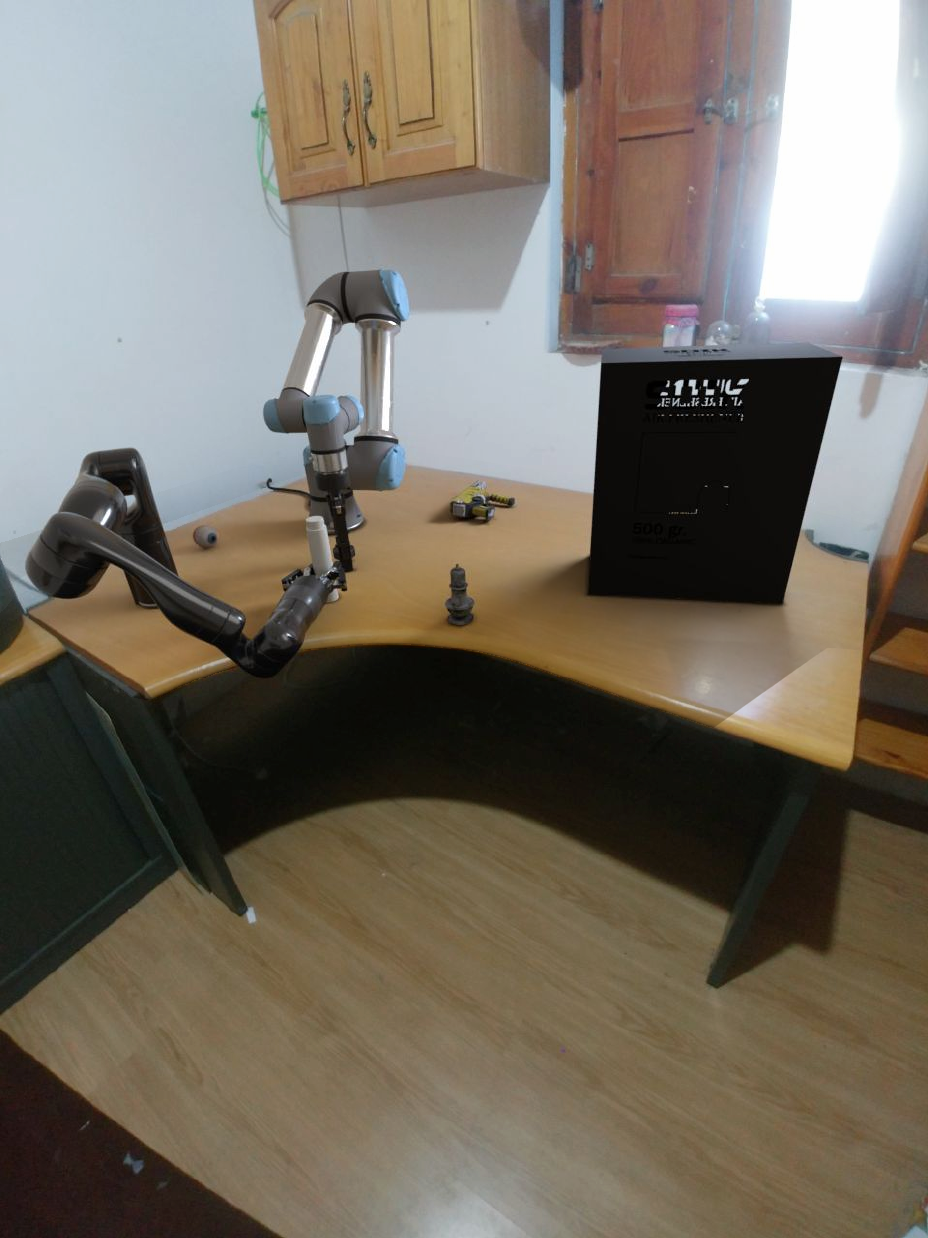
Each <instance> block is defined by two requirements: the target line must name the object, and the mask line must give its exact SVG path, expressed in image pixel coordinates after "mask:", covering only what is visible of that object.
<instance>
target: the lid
mask: <svg viewBox="0 0 928 1238" xmlns="http://www.w3.org/2000/svg"><path fill="white" fill-rule="evenodd" d="M350 551H351V558H352V559H353V558H355V556H356V549H355V546H354V545H353V544H350ZM332 555H333V558H334V560H335V561H339V560H340V557H339V551H338V547H336V548H335V546H334V547H333V548H332Z"/></svg>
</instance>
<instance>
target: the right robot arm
mask: <svg viewBox="0 0 928 1238" xmlns="http://www.w3.org/2000/svg"><path fill="white" fill-rule="evenodd" d="M409 302H410V301H409V296H408V293H407V287H406V284H405V282H404V280H403V277H402V275H401V274H400V273H399V272H398V271H396V269H382V268H379V269H371V270H356V271H355V270H354V271H341V272H337V273H334V274H332V275H331V276H329V277H327V278H326V279H325V280H324V281H322V282H321V284H319V285H318V286H317V288H316V289H315V290H314V292H313V293H312V295H311V296H310V298H309V300H308V301H307V303H306V306H305V310H304V313H303V318H304V322H305V323H304V325H303V328H302V330H301V334H300V337H299V340H298V342H297V346H296V348H295V352H294V354H293V356H292V357H293V358H292V360H291V363H290V366H289V368H288V372H287V374H286V377H285V380H284V383H283V386H282V389H281V392H280V394H279V397H278V398H276V397H275V398H271V399H268V400H267V401H265V403H264V405H263V408H262V416H263V417H262V418H263V420H264V424H265V426H266V427H267V428H268V430H269V431H271V432H272V433H277V434H288V435H289V434H307V439H308V443H309V444H308V445H307V446H305V447H304V448H303V450H302V457H303V458H302V460H303V467H304V471H305V477H306V481H307V486H308V492H307V491H304V490H300V489H294V488H285V487H277V486H276V487H275V486H271V485H270V483H272V482H273V479H272V478H271V477H269V478H268V479H266V484H265V485H266V488H267V489H269V490H271V491H280V492H289V493H297V494H302V495H304V496H307V497H309V500H308V506H309V513H308V518H309V517H312V516H322V517H323V520H324V524H325V525H326V528H327V534H328V536H331V535H335V543H336V544H334V547H335V548H336V547H338V551H339V557H340V560H338V561H339V562H340V563H341V565H342V569H344V570H345V572H352V571H354V564H353V558H351V551H350V545H351V542H350V539H349V534H350V532H353V531H355V530H357V529H359V528H361V527H362V526H363V525H364V523H365V519H364V514H363V512H362V510H361V508H360V505H359V504H358V501H357V500H356V498H355V495H354V491H377V492H384V491H394V490H396V489H398V488H399V487H400V485H401V484H402V481H403V480H404V476H405V473H406V466H407V458H406V450H405V448H404V446H402V445H401V444H399V438H398V437H397V435H396V434H395V433H394V397H395V395H394V393H395V391H394V390H395V389H394V387H395V341H396V340H395V337H397V335H398V334H399V333H400V332H401V330H402V329H401V327H402V323H403V322H404V323H405V322H406V321H407V320H409V315H410V304H409ZM347 324H354V328H355V329H356V330H357V332H359V334H360V368H359V369H360V374H359V383H360V384H359V389H360V390H359V392H360V393H359V400H358V398H356V397H354V396H352V395H340V396H335V395H332V394H319V395H318V394H317V392H318V389H319V386H320V383H321V380H322V378H323V374H324V371H325V367H326V365H327V361H328V358H329V356H330V352H331V349H332V346H333V342H334V340H335V336H337V335H338V334H340V333H341V331H342V328H343V326H345V325H347ZM358 427H359V430H358V432H357V433H356V434H355V435H354V436H353V444H347V441H346V439H345V436H344V435H346V434H348V433H350V432H352V431H354V430H356V429H357V428H358Z"/></svg>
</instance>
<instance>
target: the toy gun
mask: <svg viewBox="0 0 928 1238" xmlns="http://www.w3.org/2000/svg"><path fill="white" fill-rule="evenodd" d="M486 487H487V482H486V481H485V480H483V481H482V482H481V480H477V481H476V482H474V483H473V484H472V485H469V486H468V487H467V488H466V489H465V490H463V491H462V492H461V493H460V494H459V495H457V496H456V497H455V498H454V499H453V500H451V502H450V503H449V504H450V505H449V513H450V515H451V516H454V518H458V519H459V518H460V519H461V518H471V517H474V516H477V517H481V518H485V521H487V522H488V521H490V520H491V519H493V518H494V517H495V511H496V509H495V508H496V507H495V506H494V505H492V504H491V505H490V506H489V505H488V504H487V503H489V502H490V501H491V502H492V503H499V504H502V505H507V506H508V507H513V506H514V505H515V503H516V499H515V498H514V497H511V496H509V497H508V496H506V495H505V496H504V495H501V494H497V493H491V495H490V494H489V492H488V491H487V489H485V488H486Z"/></svg>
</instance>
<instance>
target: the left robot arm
mask: <svg viewBox="0 0 928 1238" xmlns="http://www.w3.org/2000/svg"><path fill="white" fill-rule="evenodd" d="M129 496H134V501H133V502H132V503H131V504H129V506H128V503H127V499H126V497H129ZM110 565H113V566H115V567H117V568H119V569H121V570H122V571H123V574H124V576H125V580H126V582H127V585H128V587H129V590H130V592H131V595H132V598H133V600H134V604H135V605H136V606H140V607H142V608H144V609H159V611H160V612H161V613H162V615H163V616H164V617H165V618H166V619H167V621H168V622H169V623H170V624H172V625H173V626H174V627H175V628H176V629H178V630H179V631H181V632H183V633H185V634H186V635H189V636H190V637H193V638H195V639H197V640H199V641H201V642H203V643H205V644H208V645H210V646H212V647H215V648H216V649H217V650H219V651H220V652H221V653H222V654H223V655H224V656H225V657H227V658H228V659H229V660H231V661H232V662H233V663H234V664H236V665H237V667H239V669H241V670H243V672H245V673H246V674H248V675H250V676H252V677H255V678H259V679H271V678H274V677H276V676H277V675H278V674H279V673H280V672H281V671H282V670H283V669H284V668H285V667H286V665H288V663H290V661H292V660H293V658H294V657H295V656H296V655H297V654H298V652H299V651H300V650H301V648H302V646H303V644H304V641H305V638H306V634H307V632H308V631H309V629H310V627H311V626H312V625H313V624H314V622H315V621H316V620H317V618H318V616H319V615H320V613H321V612H322V610H323V608H324V606H325V605H326V601H327V599H328V595H329V594H330V593H332V592H333V591H334V589H337V590H338V589H339V590H341V592H348V584H347V577H346V571H345V570H344V569H342V565H341V563H340V562H339V560H335V561H334V562H333V566H332V567H331V569H330V570H325V571H324V572H323V573H321V574H320V575H315V573H314V568H313V563H310V564H309V565H308V567H304V570H303V569H302V568H296V569H295V570H293V571H292V572H291V573H289V574H287V575H286V576H285V577H283V578H281V580H280V582H281V587H282V589H283V592H284V593H283V594H282V596H281V597H280V599H279V601H278V603H277V605H276V606H275V608H274V609H272V612H271V613H270V615H269V617H268V620H267V621H266V622H265V624H264V625H263V626H262V627H261V628H260V629H259V631H257V633H256V634H255V635H254V636H253V638H250V637H249V636H247V635H246V634H245V633H244V632H243V631H244V629H245V626H246V622H247V618H246V615H245V613H244V612H243V611H241V610H239V609H238V608H236V607H234V605H233V606H232V605H230V604H229V603H227V602H225V601H223V600H221V599H219V598H217V597H215V596H213V595H211V594H209V593H207V592H205V591H203V590H202V589H199V587H196V586H194V585H193V584H191V583H189V582H188V581H186V580H185V579H183V578H181V577H180V576H179V572H178V570H177V567H176V563H175V560H174V556H173V554H172V551H171V547H170V544H169V542H168V538H167V535H166V532H165V529H164V526H163V522H162V520H161V516H160V514H159V510H158V507H157V503H156V501H155V497H154V494H153V490H152V486H151V482H150V478H149V475H148V470H147V467H146V463H145V461H144V458H143V456H142V454H141V453H140V452H139V450H138V449H136V448H135V447H133V446H132V447H130V446H129V447H121V448H112V449H104V450H95V451H92V452H89V453H87V454H86V455H85V456H84V457H83V458H82V461H81V464H80V468H79V471H78V475H77V478H76V480H75V481H74V483H73V485H72V486H71V488H70V489H69V490H68V491H67V493H66V494H65V496H64V497H63V499H62V501H61V504H60V505H59V507H58V510H57V512H56V513H54V514H52V515H51V516H50V518H49V519H48V520H47V522H46V524H45V525H44V527H43V529H42V530H41V532H40V534H39V536H38V537H37V539H36V540H35V542H34V544H33V545H32V547H31V548H30V550H29V552H28V554H27V557H26V559H25V565H24V566H25V567H24V568H25V573H26V576H27V577H28V579H29V581H30V582H31V584H32V585H33V586H34V587H35V588H36V589H38V590H39V591H40V592H42V593H43V594H45V595H46V596H47V595H48V596H49V597H52V598H56V599H61V600H74V599H79V598H83V597H85V596H87V595H88V594H90V593H91V592H92V591H94V590H95V588H96V587H97V586H98V584H100V581H101V580H102V578H103V577H104V575H105V574H106V573H107V570H108V569H109V567H110ZM335 581H336V582H335ZM334 582H335V583H334Z"/></svg>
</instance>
